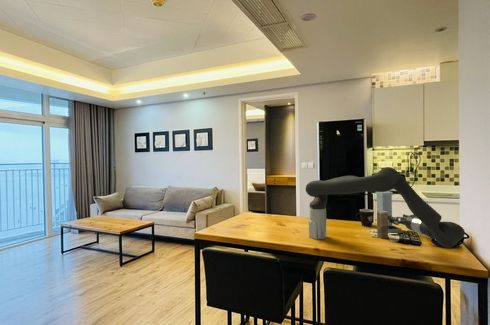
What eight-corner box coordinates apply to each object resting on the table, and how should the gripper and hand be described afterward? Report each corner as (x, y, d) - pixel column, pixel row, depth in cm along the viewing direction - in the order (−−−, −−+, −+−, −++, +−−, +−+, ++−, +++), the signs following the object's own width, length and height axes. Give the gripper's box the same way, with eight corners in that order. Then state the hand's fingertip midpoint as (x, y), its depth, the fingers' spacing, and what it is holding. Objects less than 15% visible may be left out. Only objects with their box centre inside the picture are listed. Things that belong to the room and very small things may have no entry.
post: (393, 230, 164) (392, 192, 163) (382, 231, 163) (382, 192, 162) (386, 227, 171) (385, 190, 170) (376, 228, 170) (375, 191, 169)
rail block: (388, 238, 150) (387, 211, 150) (381, 238, 150) (381, 212, 150) (383, 235, 154) (383, 210, 154) (377, 236, 154) (376, 210, 153)
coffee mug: (372, 223, 180) (372, 209, 179) (375, 227, 171) (375, 212, 171) (354, 223, 182) (353, 208, 182) (356, 226, 174) (355, 211, 174)
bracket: (401, 233, 157) (401, 228, 157) (390, 234, 156) (390, 229, 156) (393, 230, 164) (392, 225, 164) (382, 230, 164) (382, 226, 163)
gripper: (432, 215, 125) (408, 208, 141) (404, 217, 123) (382, 210, 140) (433, 231, 125) (408, 223, 141) (404, 233, 124) (383, 224, 140)
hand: (395, 216), depth 140 cm, fingers open, 8 cm apart
